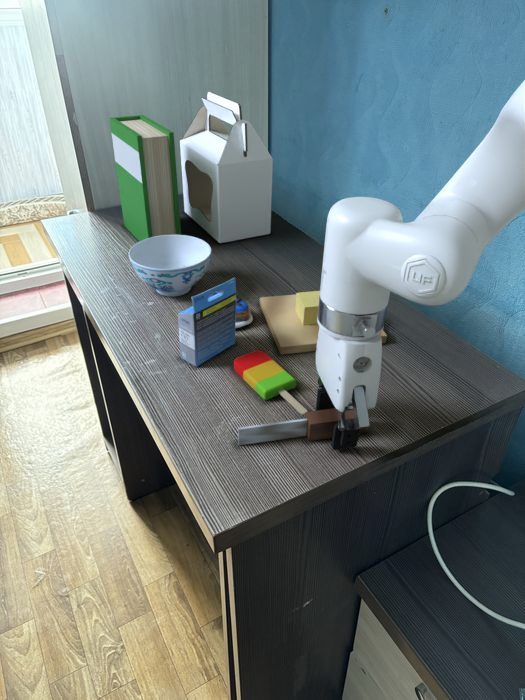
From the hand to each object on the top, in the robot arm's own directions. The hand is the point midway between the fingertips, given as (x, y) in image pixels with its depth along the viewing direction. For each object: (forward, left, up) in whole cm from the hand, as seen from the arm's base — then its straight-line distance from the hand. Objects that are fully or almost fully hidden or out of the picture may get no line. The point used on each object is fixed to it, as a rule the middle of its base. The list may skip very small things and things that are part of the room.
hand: (335, 427), depth 68 cm
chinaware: (+18, -43, -1) cm, 47 cm away
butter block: (-6, -26, +1) cm, 27 cm away
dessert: (+9, -30, -1) cm, 31 cm away
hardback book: (+21, -69, -1) cm, 72 cm away
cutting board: (-6, -26, -1) cm, 27 cm away
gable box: (+3, -74, -1) cm, 74 cm away
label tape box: (+14, -21, -1) cm, 25 cm away
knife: (+5, 0, -1) cm, 5 cm away
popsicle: (+6, -10, -1) cm, 12 cm away
